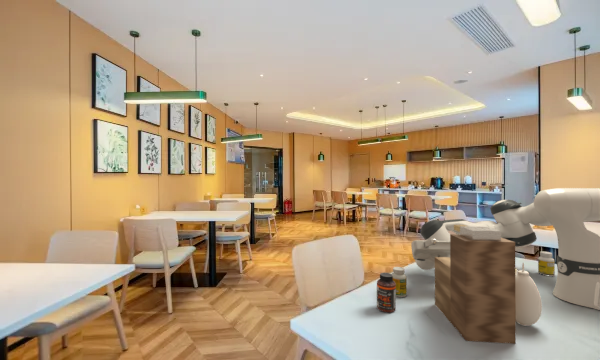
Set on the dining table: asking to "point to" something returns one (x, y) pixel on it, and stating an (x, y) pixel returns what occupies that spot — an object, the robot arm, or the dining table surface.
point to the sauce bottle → (527, 299)
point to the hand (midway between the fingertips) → (448, 241)
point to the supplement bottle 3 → (546, 264)
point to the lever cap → (478, 232)
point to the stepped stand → (478, 289)
